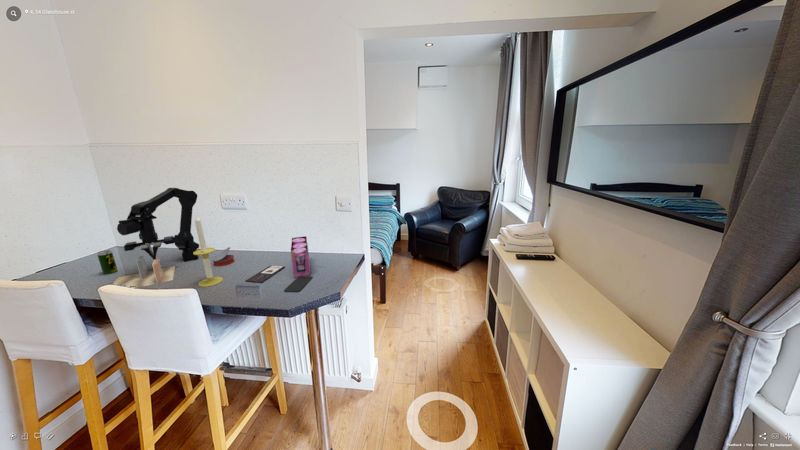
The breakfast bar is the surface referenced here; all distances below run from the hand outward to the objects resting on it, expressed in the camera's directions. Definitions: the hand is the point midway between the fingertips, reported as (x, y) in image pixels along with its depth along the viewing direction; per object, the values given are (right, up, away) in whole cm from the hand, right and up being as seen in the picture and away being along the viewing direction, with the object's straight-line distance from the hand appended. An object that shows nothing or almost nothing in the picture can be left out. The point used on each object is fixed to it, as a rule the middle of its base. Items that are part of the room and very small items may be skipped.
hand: (154, 259), depth 144 cm
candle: (+34, -10, -9) cm, 37 cm away
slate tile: (-4, -8, -1) cm, 9 cm away
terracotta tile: (+8, -9, -6) cm, 13 cm away
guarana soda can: (-25, -8, +3) cm, 26 cm away
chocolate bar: (+57, -8, -3) cm, 58 cm away
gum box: (+73, -5, +4) cm, 73 cm away
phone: (+78, -10, -14) cm, 79 cm away
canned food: (+27, -4, +14) cm, 30 cm away
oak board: (-1, -9, -5) cm, 10 cm away
